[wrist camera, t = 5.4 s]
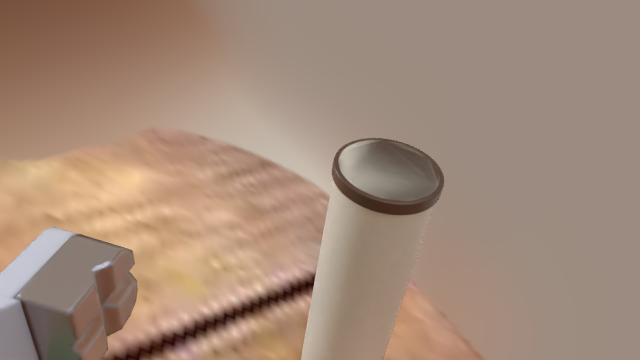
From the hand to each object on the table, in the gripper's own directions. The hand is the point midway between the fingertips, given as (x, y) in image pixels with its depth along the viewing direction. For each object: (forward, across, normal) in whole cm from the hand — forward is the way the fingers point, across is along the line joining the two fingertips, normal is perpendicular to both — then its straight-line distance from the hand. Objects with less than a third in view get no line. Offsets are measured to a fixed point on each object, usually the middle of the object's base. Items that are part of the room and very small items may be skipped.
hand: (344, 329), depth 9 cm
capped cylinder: (+12, 0, -19) cm, 22 cm away
